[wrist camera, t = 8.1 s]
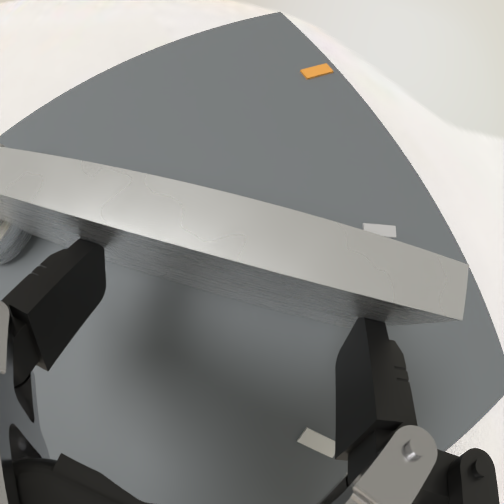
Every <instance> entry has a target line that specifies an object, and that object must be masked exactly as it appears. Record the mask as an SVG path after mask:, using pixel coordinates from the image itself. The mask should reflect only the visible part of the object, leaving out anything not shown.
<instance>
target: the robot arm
mask: <svg viewBox="0 0 504 504" xmlns="http://www.w3.org/2000/svg"><path fill="white" fill-rule="evenodd" d="M105 290H106V271H105V252H104V247H102V246H101V245H99V244H97V243H94V242H91V241H88V240H84V239H81V238H80V239H78V240H77V241H76V242H74V243H73V244H72V245H71V246H70V247H69V248H67V249H62V250H60V251H58V252H56V253H53V254H51V255H50V256H49V257H47V258H46V259H45V260H44V261H43V262H42V263H41V264H40V266H37V267H36V268H35V269H34V270H33V271H32V273H31V274H28V275H27V276H26V277H25V278H24V279H23V280H22V281H21V282H20V283H19V284H18V285H17V286H16V287H15V288H14V289H13V290H12V291H10V292H9V293H8V294H7V295H6V296H5V297H4V298H3V299H2V300H1V301H0V504H153V503H146V502H143V501H141V500H139V499H137V498H136V497H134V496H133V495H131V494H130V493H128V492H127V491H125V490H124V489H122V488H121V487H120V486H118V485H117V484H115V483H114V482H113V481H111V480H110V479H108V478H107V477H106V476H104V475H103V474H102V473H100V472H98V471H96V470H94V469H92V468H90V467H88V466H86V465H84V464H81V463H80V462H78V461H76V460H74V459H72V458H70V457H68V456H66V455H64V454H62V453H61V454H60V456H59V458H58V460H53V459H50V456H49V452H48V448H47V445H46V443H45V440H44V438H43V435H42V432H41V429H40V423H39V415H38V406H37V396H36V384H35V374H34V372H33V369H34V367H35V366H36V365H37V366H39V367H41V368H42V369H44V370H46V371H49V370H50V368H51V367H52V366H53V364H54V363H55V361H56V360H57V359H58V357H59V356H60V354H61V353H62V352H63V350H64V349H65V348H66V346H67V345H68V344H69V342H70V341H71V340H72V338H73V337H74V336H75V334H76V333H77V332H78V330H79V329H80V328H81V326H82V325H83V324H84V322H85V321H86V320H87V318H88V317H89V316H90V315H91V313H92V312H93V311H94V310H95V308H96V307H97V306H98V304H99V303H100V302H101V300H102V299H103V297H104V294H105ZM408 381H409V377H408V372H407V371H406V363H405V359H404V354H403V353H402V351H401V350H400V348H399V346H398V345H397V343H396V342H395V341H394V340H389V337H388V333H387V328H386V324H385V322H382V321H378V320H373V319H369V318H365V317H361V318H358V319H357V320H356V322H355V324H354V326H353V328H352V329H351V331H350V333H349V335H348V337H347V338H346V340H345V342H344V344H343V345H342V347H341V349H340V351H339V353H338V356H337V360H336V365H335V383H336V431H335V460H344V461H348V472H347V473H346V474H345V475H344V476H343V477H342V478H341V479H340V480H339V481H338V483H337V484H336V485H335V486H334V487H333V488H332V489H331V490H330V491H329V492H328V493H327V494H326V495H325V496H324V497H323V498H322V499H321V500H320V501H319V502H318V503H317V504H499V496H498V487H497V480H496V473H495V467H494V464H493V461H492V459H491V458H490V456H489V455H488V454H487V453H486V452H485V451H483V450H481V449H478V448H472V449H469V450H468V451H466V452H465V453H464V454H462V455H461V456H460V457H458V456H455V455H452V454H450V453H447V452H444V451H441V450H439V449H437V446H436V443H435V441H434V439H433V437H432V436H431V435H430V434H429V433H428V432H427V431H426V430H424V429H423V428H421V427H418V425H417V420H416V414H415V408H414V402H413V397H412V392H411V387H410V382H408Z"/></svg>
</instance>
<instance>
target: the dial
mask: <svg viewBox="0 0 504 504" xmlns="http://www.w3.org/2000/svg"><path fill="white" fill-rule="evenodd" d="M32 235H34V236H37V237H40V238H43V239H45V240H48V241H51V242H54V243H57V244H60V245H62V246H65V247H68V248H69V247H70V246H71V245H72V244H73V243H74V242H76V241H77V240H78V239H80V238H81V239H84V240H88V241H91V242H94V243H97V244H99V245H101V246H102V247H104V252H105V260H107V261H110V262H113V263H116V264H119V265H122V266H125V267H128V268H131V269H135V270H138V271H141V272H144V273H147V274H151V275H154V276H157V277H160V278H164V279H167V280H170V281H174V282H177V283H180V284H184V285H187V286H190V287H194V288H197V289H201V290H204V291H208V292H211V293H215V294H218V295H222V296H225V297H229V298H233V299H236V300H240V301H243V302H247V303H251V304H255V305H258V306H262V307H266V308H270V309H273V310H277V311H281V312H285V313H289V314H293V315H297V316H301V317H305V318H309V319H313V320H317V321H321V322H325V323H330V324H334V325H338V326H342V327H353V326H354V324H355V322H356V320H357V319H358V318H361V317H365V318H369V319H373V320H378V321H382V322H385V324H386V326H395V325H412V324H426V323H439V322H450V321H461V320H463V314H464V307H465V299H466V290H467V280H468V269H469V265H468V264H465V263H462V262H460V261H457V260H454V259H451V258H448V257H445V256H442V255H439V254H436V253H433V252H431V251H428V250H425V249H422V248H419V247H415V246H412V245H409V244H406V243H403V242H400V241H397V240H394V239H391V238H388V237H384V236H381V235H378V234H375V233H372V232H368V231H365V230H362V229H358V228H355V227H352V226H348V225H345V224H342V223H338V222H335V221H332V220H328V219H325V218H321V217H318V216H314V215H311V214H307V213H304V212H300V211H296V210H293V209H289V208H285V207H282V206H278V205H274V204H271V203H267V202H263V201H259V200H255V199H252V198H248V197H244V196H240V195H236V194H232V193H228V192H224V191H220V190H216V189H212V188H208V187H203V186H199V185H195V184H191V183H187V182H182V181H178V180H174V179H169V178H165V177H160V176H156V175H151V174H147V173H142V172H137V171H132V170H128V169H123V168H118V167H113V166H108V165H103V164H98V163H93V162H88V161H82V160H77V159H72V158H66V157H61V156H55V155H49V154H43V153H37V152H31V151H25V150H19V149H12V148H6V147H5V146H4V145H3V144H1V143H0V264H4V263H6V262H8V261H10V260H12V259H13V258H14V257H16V256H17V255H18V254H19V253H20V252H21V251H22V250H23V248H24V247H25V246H26V244H27V243H28V241H29V240H30V238H31V236H32Z"/></svg>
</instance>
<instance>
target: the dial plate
mask: <svg viewBox="0 0 504 504" xmlns="http://www.w3.org/2000/svg"><path fill="white" fill-rule="evenodd" d="M0 143H1V144H3V145H4V146H5V147H6V148H12V149H19V150H25V151H31V152H37V153H43V154H49V155H55V156H61V157H66V158H72V159H77V160H82V161H88V162H93V163H98V164H103V165H108V166H113V167H118V168H123V169H128V170H132V171H137V172H142V173H147V174H151V175H156V176H160V177H165V178H169V179H174V180H178V181H182V182H187V183H191V184H195V185H199V186H203V187H208V188H212V189H216V190H220V191H224V192H228V193H232V194H236V195H240V196H244V197H248V198H252V199H255V200H259V201H263V202H267V203H271V204H274V205H278V206H282V207H285V208H289V209H293V210H296V211H300V212H304V213H307V214H311V215H314V216H318V217H321V218H325V219H328V220H332V221H335V222H338V223H342V224H345V225H348V226H352V227H355V228H358V229H362V230H365V231H368V232H372V233H375V234H378V235H381V236H384V237H388V238H391V239H394V240H397V241H400V242H403V243H406V244H409V245H412V246H415V247H419V248H422V249H425V250H428V251H431V252H433V253H436V254H439V255H442V256H445V257H448V258H451V259H454V260H457V261H460V262H462V263H465V264H467V262H466V259H465V257H464V255H463V253H462V251H461V249H460V247H459V245H458V243H457V241H456V240H455V238H454V236H453V234H452V232H451V230H450V228H449V226H448V225H447V223H446V221H445V219H444V217H443V216H442V214H441V212H440V210H439V209H438V207H437V205H436V203H435V202H434V200H433V198H432V197H431V195H430V193H429V192H428V190H427V188H426V187H425V185H424V184H423V182H422V180H421V179H420V177H419V176H418V174H417V173H416V171H415V169H414V168H413V166H412V165H411V163H410V162H409V160H408V159H407V157H406V156H405V155H404V153H403V152H402V150H401V149H400V147H399V146H398V144H397V143H396V142H395V140H394V139H393V137H392V136H391V135H390V133H389V132H388V131H387V129H386V128H385V127H384V125H383V124H382V123H381V121H380V120H379V119H378V117H377V116H376V115H375V113H374V112H373V111H372V110H371V108H370V107H369V106H368V105H367V103H366V102H365V101H364V100H363V98H362V97H361V96H360V95H359V94H358V92H357V91H356V90H355V89H354V88H353V86H352V85H351V84H350V83H349V82H348V81H347V79H346V78H345V77H344V76H343V75H342V74H341V73H340V71H339V70H338V69H337V68H336V67H335V66H334V65H333V64H332V63H331V62H330V60H329V59H328V58H327V57H326V56H325V55H324V54H323V53H322V52H321V51H320V50H319V49H318V48H317V47H316V46H315V45H314V44H313V43H312V42H311V41H310V40H309V39H308V38H307V37H306V36H305V35H304V34H303V33H302V32H301V31H300V30H299V29H298V28H297V27H296V26H295V25H294V24H293V23H292V22H291V21H290V20H289V19H287V18H286V17H285V16H284V15H283V14H282V13H281V12H278V13H273V14H268V15H263V16H259V17H254V18H250V19H246V20H242V21H238V22H234V23H231V24H227V25H223V26H220V27H216V28H213V29H210V30H206V31H203V32H200V33H197V34H194V35H191V36H188V37H185V38H182V39H179V40H177V41H174V42H171V43H169V44H166V45H163V46H161V47H158V48H156V49H153V50H151V51H148V52H146V53H143V54H141V55H139V56H136V57H134V58H132V59H130V60H127V61H125V62H123V63H121V64H119V65H117V66H114V67H112V68H110V69H108V70H106V71H104V72H102V73H100V74H98V75H96V76H94V77H92V78H90V79H89V80H87V81H85V82H83V83H81V84H79V85H78V86H76V87H74V88H72V89H70V90H69V91H67V92H65V93H63V94H62V95H60V96H58V97H57V98H55V99H53V100H52V101H50V102H49V103H47V104H45V105H44V106H42V107H41V108H39V109H38V110H36V111H35V112H33V113H32V114H30V115H29V116H27V117H26V118H24V119H23V120H21V121H20V122H18V123H17V124H16V125H14V126H13V127H11V128H10V129H9V130H7V131H6V132H5V133H3V134H2V135H1V136H0ZM67 248H68V247H65V246H62V245H60V244H57V243H54V242H51V241H48V240H45V239H43V238H40V237H37V236H34V235H32V236H31V238H30V240H29V241H28V243H27V244H26V246H25V247H24V248H23V250H22V251H21V252H20V253H19V254H18V255H17V256H16V257H14V258H13V259H12V260H10V261H8V262H6V263H4V264H0V301H1V300H2V299H3V298H4V297H5V296H6V295H7V294H8V293H9V292H10V291H12V290H13V289H14V288H15V287H16V286H17V285H18V284H19V283H20V282H21V281H22V280H23V279H24V278H25V277H26V276H27V275H28V274H31V273H32V271H33V270H34V269H35V268H36V267H37V266H40V264H41V263H42V262H43V261H44V260H45V259H46V258H47V257H49V256H50V255H51V254H53V253H56V252H58V251H60V250H62V249H67ZM105 271H106V290H105V294H104V297H103V299H102V300H101V302H100V303H99V304H98V306H97V307H96V308H95V310H94V311H93V312H92V313H91V315H90V316H89V317H88V318H87V320H86V321H85V322H84V324H83V325H82V326H81V328H80V329H79V330H78V332H77V333H76V334H75V336H74V337H73V338H72V340H71V341H70V342H69V344H68V345H67V346H66V348H65V349H64V350H63V352H62V353H61V354H60V356H59V357H58V359H57V360H56V361H55V363H54V364H53V366H52V367H51V368H50V370H49V371H46V370H44V369H42V368H41V367H39V366H37V365H36V366H35V367H34V369H33V372H34V374H35V384H36V396H37V406H38V415H39V423H40V429H41V432H42V435H43V438H44V440H45V443H46V445H47V448H48V452H49V456H50V459H53V460H58V458H59V456H60V454H61V453H62V454H64V455H66V456H68V457H70V458H72V459H74V460H76V461H78V462H80V463H81V464H84V465H86V466H88V467H90V468H92V469H94V470H96V471H98V472H100V473H102V474H103V475H104V476H106V477H107V478H108V479H110V480H111V481H113V482H114V483H115V484H117V485H118V486H120V487H121V488H122V489H124V490H125V491H127V492H128V493H130V494H131V495H133V496H134V497H136V498H137V499H139V500H141V501H143V502H146V503H153V504H317V503H318V502H319V501H320V500H321V499H322V498H323V497H324V496H325V495H326V494H327V493H328V492H329V491H330V490H331V489H332V488H333V487H334V486H335V485H336V484H337V483H338V481H339V480H340V479H341V478H342V477H343V476H344V475H345V474H346V473H347V472H348V461H344V460H335V431H336V383H335V365H336V360H337V356H338V353H339V351H340V349H341V347H342V345H343V344H344V342H345V340H346V338H347V337H348V335H349V333H350V331H351V329H352V328H353V327H342V326H338V325H334V324H330V323H325V322H321V321H317V320H313V319H309V318H305V317H301V316H297V315H293V314H289V313H285V312H281V311H277V310H273V309H270V308H266V307H262V306H258V305H255V304H251V303H247V302H243V301H240V300H236V299H233V298H229V297H225V296H222V295H218V294H215V293H211V292H208V291H204V290H201V289H197V288H194V287H190V286H187V285H184V284H180V283H177V282H174V281H170V280H167V279H164V278H160V277H157V276H154V275H151V274H147V273H144V272H141V271H138V270H135V269H131V268H128V267H125V266H122V265H119V264H116V263H113V262H110V261H107V260H105ZM386 328H387V333H388V337H389V340H394V341H395V342H396V343H397V345H398V346H399V348H400V350H401V351H402V353H403V354H404V359H405V363H406V371H407V372H408V377H409V381H408V382H410V387H411V392H412V397H413V402H414V408H415V414H416V420H417V425H418V427H421V428H423V429H424V430H426V431H427V432H428V433H429V434H430V435H431V436H432V437H433V439H434V441H435V443H436V446H437V449H439V450H441V451H444V452H445V451H446V450H447V449H448V448H450V447H451V446H452V445H453V444H454V443H455V442H457V441H458V440H459V439H460V438H461V437H462V436H463V435H464V434H466V433H467V432H468V431H469V430H470V429H471V428H472V427H473V426H474V425H475V424H476V423H477V422H478V421H479V420H480V419H481V418H482V417H483V416H484V415H485V414H486V413H487V412H488V411H489V410H490V409H491V408H492V407H493V406H494V405H495V404H496V403H497V402H498V401H499V400H500V399H501V398H502V397H503V396H504V354H503V351H502V348H501V345H500V342H499V339H498V336H497V333H496V330H495V328H494V325H493V322H492V320H491V317H490V314H489V312H488V309H487V307H486V304H485V302H484V300H483V297H482V295H481V292H480V290H479V288H478V285H477V283H476V281H475V279H474V277H473V274H472V272H471V270H470V268H469V269H468V280H467V290H466V299H465V307H464V314H463V320H461V321H450V322H439V323H426V324H412V325H395V326H386Z"/></svg>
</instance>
